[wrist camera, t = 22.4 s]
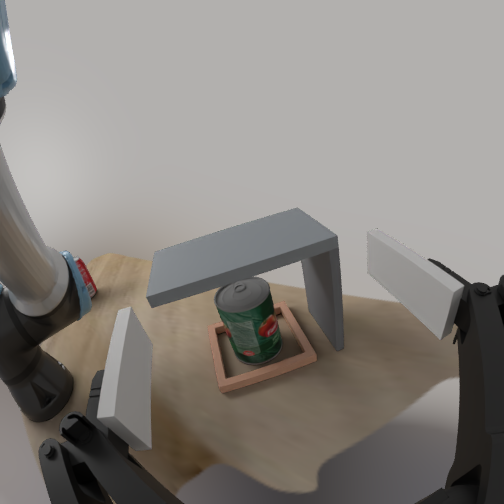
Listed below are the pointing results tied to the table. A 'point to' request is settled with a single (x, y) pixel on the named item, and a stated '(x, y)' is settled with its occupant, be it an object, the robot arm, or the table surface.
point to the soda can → (86, 276)
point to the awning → (257, 264)
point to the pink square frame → (267, 371)
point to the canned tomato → (250, 320)
